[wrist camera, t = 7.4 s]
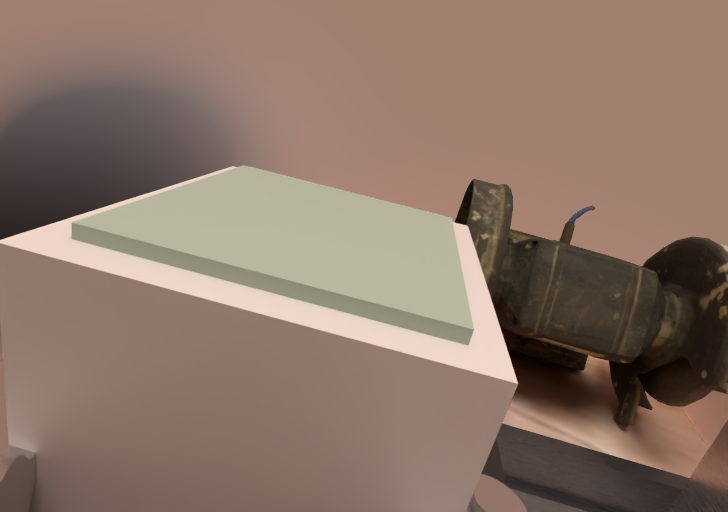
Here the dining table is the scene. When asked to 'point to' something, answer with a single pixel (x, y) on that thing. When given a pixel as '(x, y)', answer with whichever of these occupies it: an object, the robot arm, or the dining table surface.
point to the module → (251, 353)
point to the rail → (607, 478)
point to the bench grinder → (606, 305)
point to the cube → (708, 415)
